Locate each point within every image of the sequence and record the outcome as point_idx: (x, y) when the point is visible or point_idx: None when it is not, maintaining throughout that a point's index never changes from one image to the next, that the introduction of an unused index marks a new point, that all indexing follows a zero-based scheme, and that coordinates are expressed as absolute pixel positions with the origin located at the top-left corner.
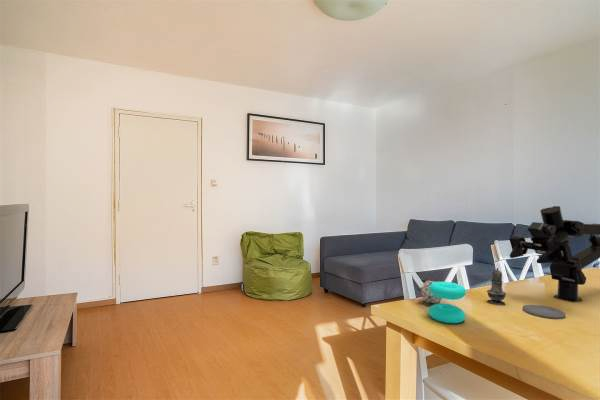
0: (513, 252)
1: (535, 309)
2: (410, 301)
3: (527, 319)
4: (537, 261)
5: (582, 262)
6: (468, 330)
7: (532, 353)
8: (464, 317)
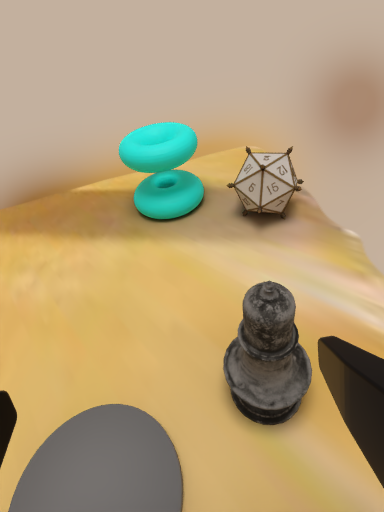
0: (354, 370)
1: (117, 459)
2: None
3: (89, 353)
4: (1, 398)
5: None
6: (110, 208)
7: (4, 238)
8: (137, 206)
